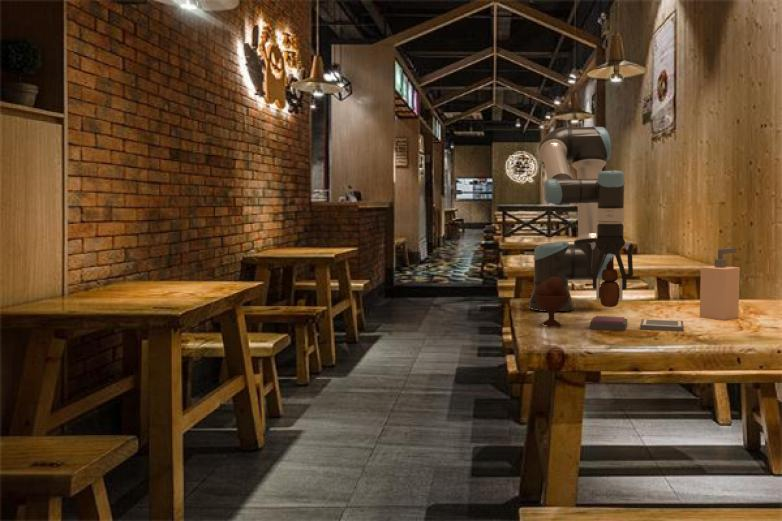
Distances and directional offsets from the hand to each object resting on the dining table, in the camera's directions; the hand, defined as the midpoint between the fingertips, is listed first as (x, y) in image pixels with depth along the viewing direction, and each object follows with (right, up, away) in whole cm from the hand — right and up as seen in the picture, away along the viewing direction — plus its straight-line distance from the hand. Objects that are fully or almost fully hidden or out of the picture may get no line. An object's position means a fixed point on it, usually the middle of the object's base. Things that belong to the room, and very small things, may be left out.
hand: (609, 300), depth 229 cm
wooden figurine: (0, -2, 0) cm, 2 cm away
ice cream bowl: (-16, -8, +6) cm, 19 cm away
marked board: (+16, -8, 0) cm, 18 cm away
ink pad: (0, -8, +1) cm, 8 cm away
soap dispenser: (+42, -6, +18) cm, 46 cm away
